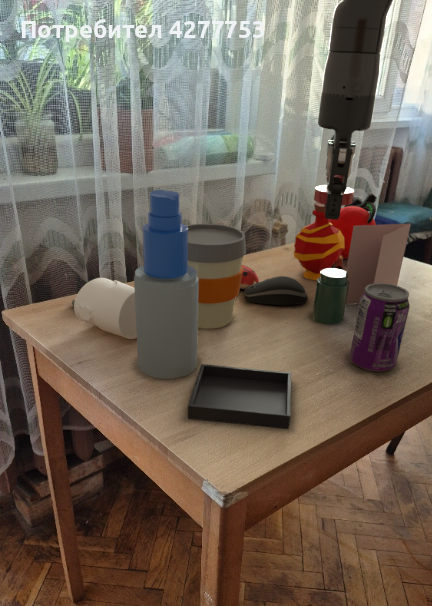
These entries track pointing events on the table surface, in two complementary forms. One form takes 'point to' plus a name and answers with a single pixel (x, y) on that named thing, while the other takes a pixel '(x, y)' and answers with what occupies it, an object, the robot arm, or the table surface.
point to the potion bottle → (318, 244)
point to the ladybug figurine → (248, 278)
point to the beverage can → (379, 327)
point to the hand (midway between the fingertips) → (331, 212)
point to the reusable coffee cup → (216, 270)
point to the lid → (322, 194)
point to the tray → (241, 396)
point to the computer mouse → (277, 292)
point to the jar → (331, 296)
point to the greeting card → (375, 257)
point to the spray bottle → (166, 293)
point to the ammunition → (339, 263)
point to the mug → (108, 306)
